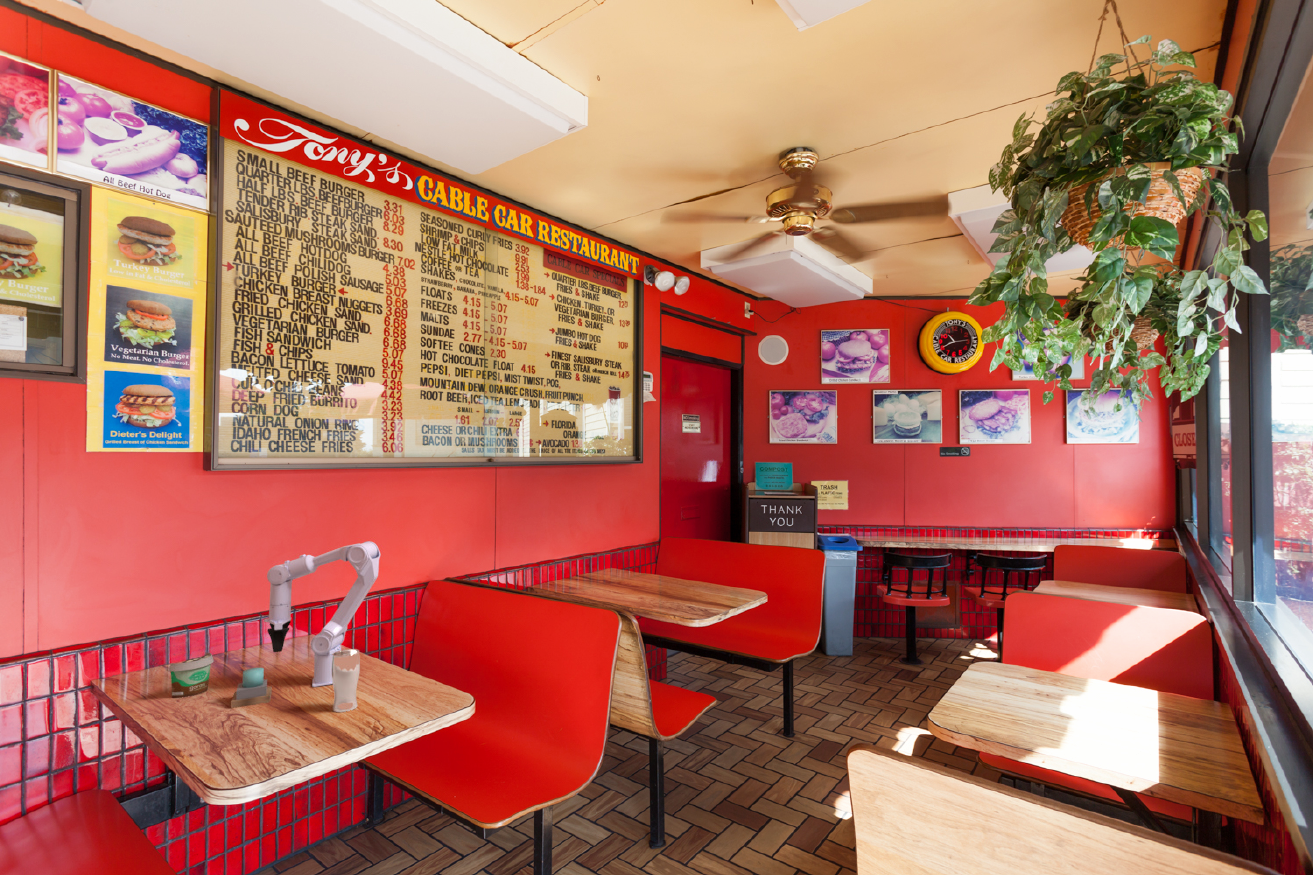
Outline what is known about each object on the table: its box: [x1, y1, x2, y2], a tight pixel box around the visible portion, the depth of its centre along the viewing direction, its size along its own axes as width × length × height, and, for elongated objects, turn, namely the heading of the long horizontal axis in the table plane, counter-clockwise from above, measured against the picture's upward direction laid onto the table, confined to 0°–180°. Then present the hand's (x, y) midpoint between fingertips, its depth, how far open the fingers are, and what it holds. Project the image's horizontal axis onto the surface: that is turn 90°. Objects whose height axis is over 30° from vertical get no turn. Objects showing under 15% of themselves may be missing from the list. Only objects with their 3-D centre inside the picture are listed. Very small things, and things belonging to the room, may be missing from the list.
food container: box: [168, 651, 215, 699], centre depth 185 cm, size 12×6×10 cm, turn 168°
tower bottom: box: [230, 686, 273, 709], centre depth 179 cm, size 9×9×2 cm
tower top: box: [236, 678, 268, 700], centre depth 178 cm, size 7×7×2 cm
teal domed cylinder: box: [242, 667, 265, 688], centre depth 179 cm, size 5×5×4 cm
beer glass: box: [332, 648, 361, 713], centre depth 172 cm, size 7×7×15 cm
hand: (278, 648), depth 193 cm, fingers open, 7 cm apart
